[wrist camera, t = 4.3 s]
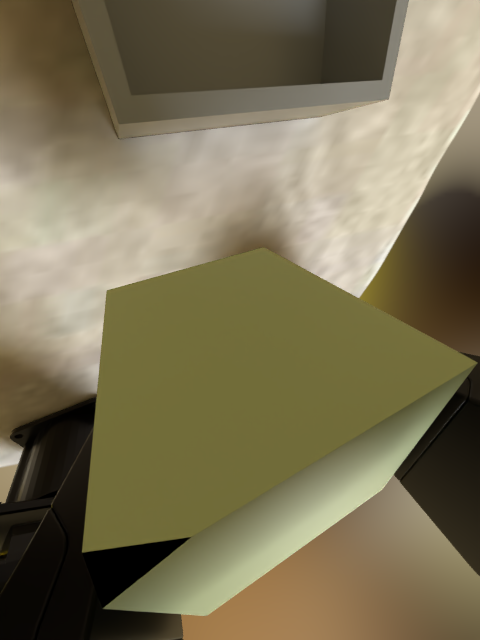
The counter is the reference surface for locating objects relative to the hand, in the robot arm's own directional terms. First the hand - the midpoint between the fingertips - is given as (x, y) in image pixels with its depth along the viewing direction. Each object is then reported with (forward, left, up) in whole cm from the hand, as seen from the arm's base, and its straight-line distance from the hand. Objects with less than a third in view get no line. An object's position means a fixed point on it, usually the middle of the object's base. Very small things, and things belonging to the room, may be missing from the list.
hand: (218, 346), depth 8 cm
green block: (0, 0, -1) cm, 1 cm away
